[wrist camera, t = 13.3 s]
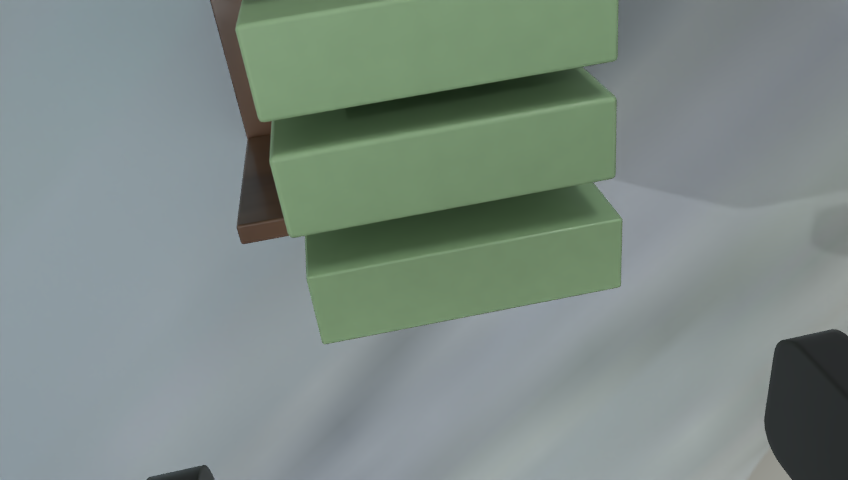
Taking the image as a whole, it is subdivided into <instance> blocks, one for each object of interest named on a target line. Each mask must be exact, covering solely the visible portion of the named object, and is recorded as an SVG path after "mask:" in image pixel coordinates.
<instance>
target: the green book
mask: <svg viewBox="0 0 848 480" xmlns="http://www.w3.org/2000/svg"><path fill="white" fill-rule="evenodd" d="M305 251H306V279H307V283H308V287H309V291H310V295H311V299H312V303H313V307H314V311H315V315H316V319H317V323H318V327H319V331H320V335H321V340H322V343H323V344H329V343H334V342H340V341H345V340H350V339H355V338H360V337H365V336H370V335H376V334H381V333H386V332H391V331H396V330H401V329H407V328H412V327H417V326H422V325H427V324H432V323H437V322H443V321H448V320H453V319H458V318H463V317H468V316H474V315H479V314H484V313H489V312H494V311H499V310H504V309H510V308H515V307H520V306H525V305H530V304H535V303H541V302H546V301H551V300H556V299H561V298H566V297H571V296H577V295H582V294H587V293H592V292H597V291H602V290H607V289H613V288H618V287H620V286H621V255H622V218H621V217H620V215H619V214H618V213H617V212H616V210H615V209H614V208H613V207H612V205H611V204H610V203H609V202H608V200H607V199H606V198H605V197H604V195H603V194H602V193H601V192H600V190H599V189H598V188H597V187H596V185H595V184H594V183H593V182H591V183H586V184H581V185H575V186H570V187H565V188H559V189H554V190H548V191H543V192H538V193H532V194H527V195H521V196H516V197H511V198H505V199H500V200H495V201H489V202H484V203H478V204H473V205H468V206H462V207H457V208H451V209H446V210H441V211H435V212H430V213H424V214H419V215H414V216H408V217H403V218H398V219H392V220H387V221H381V222H376V223H371V224H365V225H360V226H354V227H349V228H344V229H338V230H333V231H328V232H322V233H317V234H311V235H306V236H305Z"/></svg>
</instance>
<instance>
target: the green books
mask: <svg viewBox="0 0 848 480" xmlns="http://www.w3.org/2000/svg"><path fill="white" fill-rule="evenodd" d="M235 31H236V35H237V38H238V42H239V46H240V50H241V54H242V58H243V62H244V66H245V70H246V73H247V77H248V81H249V85H250V89H251V93H252V97H253V101H254V105H255V108H256V112H257V116H258V119H259V120H260V121H261V122H269V121H272V123H271V141H270V158H269V163H270V166H271V170H272V174H273V178H274V182H275V186H276V190H277V194H278V198H279V201H280V205H281V209H282V213H283V217H284V221H285V225H286V229H287V232H288V234H289V236H290V237H292V238H295V237H301V236H306V235H311V234H317V233H322V232H328V231H333V230H338V229H344V228H349V227H354V226H360V225H365V224H371V223H376V222H381V221H387V220H392V219H398V218H403V217H408V216H414V215H419V214H424V213H430V212H435V211H441V210H446V209H451V208H457V207H462V206H468V205H473V204H478V203H484V202H489V201H495V200H500V199H505V198H511V197H516V196H521V195H527V194H532V193H538V192H543V191H548V190H554V189H559V188H565V187H570V186H575V185H581V184H586V183H591V182H597V181H602V180H608V179H612V178H614V177H615V173H616V106H617V100H616V97H615V96H614V95H613V94H612V93H611V92H610V91H608V90H607V89H606V88H605V87H604V86H603V85H602V84H601V83H600V82H599V81H597V80H596V79H595V78H594V77H593V76H592V75H591V74H590V73H589V72H587V71H586V70H585V69H584V68H583V67H584V66H590V65H596V64H601V63H607V62H613V61H615V60H617V56H618V0H242V3H241V7H240V11H239V15H238V19H237V23H236V29H235Z"/></svg>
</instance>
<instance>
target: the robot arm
mask: <svg viewBox="0 0 848 480" xmlns="http://www.w3.org/2000/svg"><path fill="white" fill-rule="evenodd" d="M764 422H765V431H766V435H767V439H768V442H769V444H770V447H771V449H772V451H773V453H774V455H775V457H776V458H777V460H778V462H779V463H780V464H781V466H782V467H783V468H784V470H785V471H786V472H787V474H788V475H789V476H790V478H791V479H792V480H848V336H847V335H846V334H845V333H843V332H841V331H839V330H834V329H831V330H827V331H822V332H818V333H813V334H809V335H804V336H800V337H795V338H790V339H786V340H782V341H780V342H779V343H778V344H777V346H776V348H775V351H774V357H773V364H772V370H771V377H770V384H769V390H768V397H767V404H766V410H765V419H764ZM147 480H214V477H213V475H212V473H211V471H210V469H209V468H208V467H207V466H206V465H202V466H198V467H193V468H189V469H184V470H179V471H175V472H170V473H166V474H161V475H157V476H152V477H149V478H148V479H147Z"/></svg>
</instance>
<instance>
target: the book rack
mask: <svg viewBox="0 0 848 480" xmlns="http://www.w3.org/2000/svg"><path fill="white" fill-rule="evenodd" d="M210 2H211V5H212V9H213V13H214V17H215V20H216V24H217V28H218V31H219V35H220V39H221V43H222V46H223V50H224V54H225V57H226V61H227V65H228V69H229V72H230V76H231V80H232V83H233V87H234V91H235V94H236V98H237V102H238V106H239V109H240V113H241V117H242V120H243V124H244V128H245V132H246V135H247V139H248V140H247V148H246V156H245V164H244V172H243V180H242V188H241V196H240V204H239V212H238V220H237V230H238V234H239V237H240V241H241V243H242V244H247V243H252V242H258V241H263V240H268V239H274V238H279V237H285V236H289V234H288V232H287V229H286V225H285V221H284V217H283V213H282V209H281V205H280V201H279V198H278V194H277V190H276V186H275V182H274V178H273V174H272V170H271V166H270V163H269V158H270V141H271V123H272V121H269V122H261V121H260V120H259V119H258V116H257V112H256V108H255V105H254V101H253V97H252V93H251V89H250V85H249V81H248V77H247V73H246V70H245V66H244V62H243V58H242V54H241V50H240V46H239V42H238V38H237V35H236V31H235V29H236V23H237V19H238V15H239V11H240V7H241V3H242V0H210Z"/></svg>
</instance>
